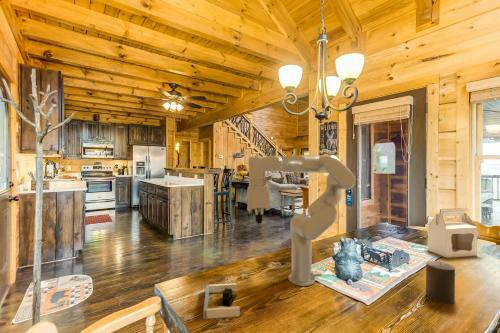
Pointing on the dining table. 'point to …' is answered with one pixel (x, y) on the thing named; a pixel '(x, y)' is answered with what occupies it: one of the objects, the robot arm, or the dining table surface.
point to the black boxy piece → (227, 298)
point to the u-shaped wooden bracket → (224, 310)
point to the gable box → (461, 233)
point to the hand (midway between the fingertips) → (259, 222)
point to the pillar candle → (440, 281)
